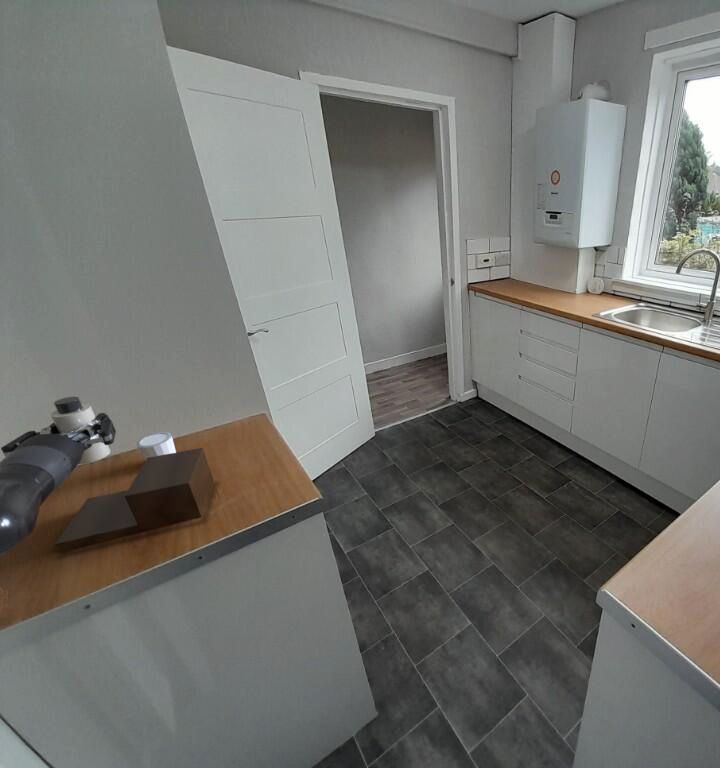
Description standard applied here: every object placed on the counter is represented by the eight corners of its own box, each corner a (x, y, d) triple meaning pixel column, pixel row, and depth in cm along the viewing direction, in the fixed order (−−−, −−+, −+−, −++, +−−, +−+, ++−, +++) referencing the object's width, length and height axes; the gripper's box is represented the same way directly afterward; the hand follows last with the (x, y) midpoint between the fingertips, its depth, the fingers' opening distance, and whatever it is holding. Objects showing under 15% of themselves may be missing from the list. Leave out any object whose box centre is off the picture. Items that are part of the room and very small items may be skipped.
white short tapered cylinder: (153, 474, 99) (142, 450, 96) (142, 464, 103) (131, 441, 100) (185, 460, 105) (176, 437, 102) (174, 451, 108) (164, 429, 105)
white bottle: (68, 466, 75) (39, 408, 70) (80, 452, 79) (54, 396, 75) (104, 460, 77) (78, 403, 72) (115, 446, 82) (91, 392, 77)
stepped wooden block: (61, 556, 76) (37, 514, 72) (93, 509, 88) (73, 471, 84) (203, 521, 85) (188, 482, 81) (214, 483, 97) (202, 447, 92)
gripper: (88, 437, 65) (125, 396, 79) (-42, 458, 60) (23, 409, 73) (106, 476, 68) (138, 429, 82) (-16, 499, 63) (42, 444, 77)
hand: (84, 420), depth 78 cm, fingers closed on white bottle, 5 cm apart
